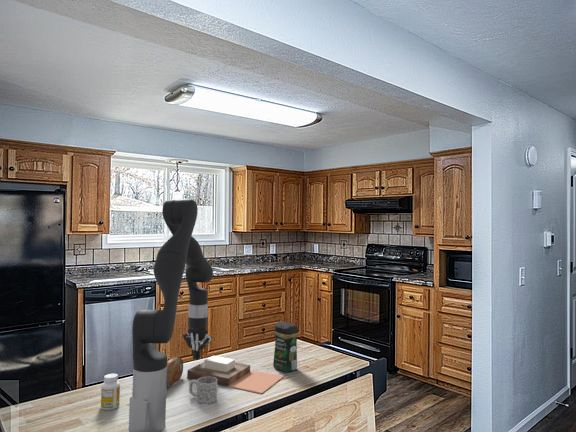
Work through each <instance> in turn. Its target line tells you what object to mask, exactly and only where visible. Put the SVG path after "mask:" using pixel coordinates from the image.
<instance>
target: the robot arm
mask: <svg viewBox="0 0 576 432" xmlns="http://www.w3.org/2000/svg"><path fill="white" fill-rule="evenodd" d="M162 205H163V206H162V217H163V220H164V222H165V224H166V227H167V228H168V230H169V232H170V234H171V236H170V238H169V239H168V240H166V241H165V242H164V244H163V245H162V246H161V247H160V248H159V250H158V252H157V254H156V258H155V261H154V264H153V275H154V278H155V280H156V284H157V285H158V287H159V289H160V291H161V294H162V296H163V303H164V304H163V307H162V309H139V310H138V311H136V312H135V314H134V316H133V320H132V328H131V330H132V332H131V335H132V363H133V366H132V369H133V370H132V396H130V397H129V406H128V407H129V409H128V432H161V431H162V430H164V429H165V427H166V421H167V420H166V417H167V413H166V412H167V411H166V410H167V388H166V386H167V361H168V356H167V355H166V354H165V353H163V352H161V351H160V350H157V349H155V348H154V347H152V346H151V344H168V343H169V342H170V341H171V340H172V336H173V333H174V330H175V329H174V328H175V324H176V316H177V308H178V303H179V302H178V300H179V295H180V290H181V285H182V280H183V277H184V273H185V279H186V284H187V289H188V293H189V294H188V295H189V296H188V297H189V299H188V300H189V302H188V303H189V304H188V305H189V306H188V311H187V312H188V313H187V314H188V315H187V327H188V329H187V332H186V333H183V334H182V338H183V339H184V341H185V343H186V345H187V347H188V348H189V349H191V350H192V358H193V359H192V360H195V361H199V360H200V359H201V358H202V357H201V355H202V350H203V349H204V350H205V349H206V348H207V347H208V345H209V344H210V343H211V341H212V340H213V337H212V336H210V335H209V334H208V329H207V328H208V321H209V320H208V317H209V309H208V308H209V307H208V299H209V297H208V296H209V294H208V289H206V288H205V287H204V288H203V287H201V286H200V285H198V283H201V284H202V283H204V284H206V283H210V282H211V281H212V279H213V276H214V269H213V267H212V266H211V264H210V262H208V260H207V259H206V257H205V256H204V253H203V250H202V247H201V244H200V243H199V241H197V239H196V238H195V237H193V236H192V235H193V232H194V230H195V229H194V228H195V225H196V222H197V219H198V213H199V212H198V203H197V202H196V200H194V199H192V198H174V199H167V200H165V202H164V203H163V204H162ZM186 266H187V267H186ZM185 268H186V269H185Z"/></svg>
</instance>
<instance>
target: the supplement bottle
mask: <svg viewBox="0 0 576 432" xmlns="http://www.w3.org/2000/svg"><path fill="white" fill-rule="evenodd" d="M118 379H119V374H117V373H109V374H106V375H104V376H103V383H102V384H101V385H100V386H101V389H100V392H101V393H100V408H101V409H102V410H104V411H110V410H115V409H117V408H119V407H120V397H121V396H120V395H121V394H120V393H121V392H120V391H121V382H120V381H118Z"/></svg>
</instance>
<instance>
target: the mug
mask: <svg viewBox="0 0 576 432" xmlns="http://www.w3.org/2000/svg"><path fill="white" fill-rule="evenodd" d="M194 384H195V385H196V392H195V391H193V385H194ZM188 392H189V395H191V396H193V397H195V399H196V400H195V401H196V403H197V404H200V405H212V404H214V403H216V402H217V399H218V385H217V378H215V377H211V376H206V377H201V378H198V379H197V380H194V379H190V382H189V385H188Z"/></svg>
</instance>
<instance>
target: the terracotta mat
mask: <svg viewBox="0 0 576 432" xmlns="http://www.w3.org/2000/svg"><path fill="white" fill-rule="evenodd" d="M284 376H285V375H280V374H279V375H278V374H274V373H269V372H263V371H259V370H250V372H249V373H248V374H246V375H245V376H243V377H241V378H240V379H238V380H237V381H235V382H233V383H232V384H230V385H229V386H228V387H227V388H232V389H237V390H242V391H245V392H250V393H251V392H252V393H255V394H261V395H263V394H264V393H266V392H267V391H268V390H269V389H270V388H272V387H273V386H275V385H277V383H278V382H280V380H282V379H283V378H284Z"/></svg>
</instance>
